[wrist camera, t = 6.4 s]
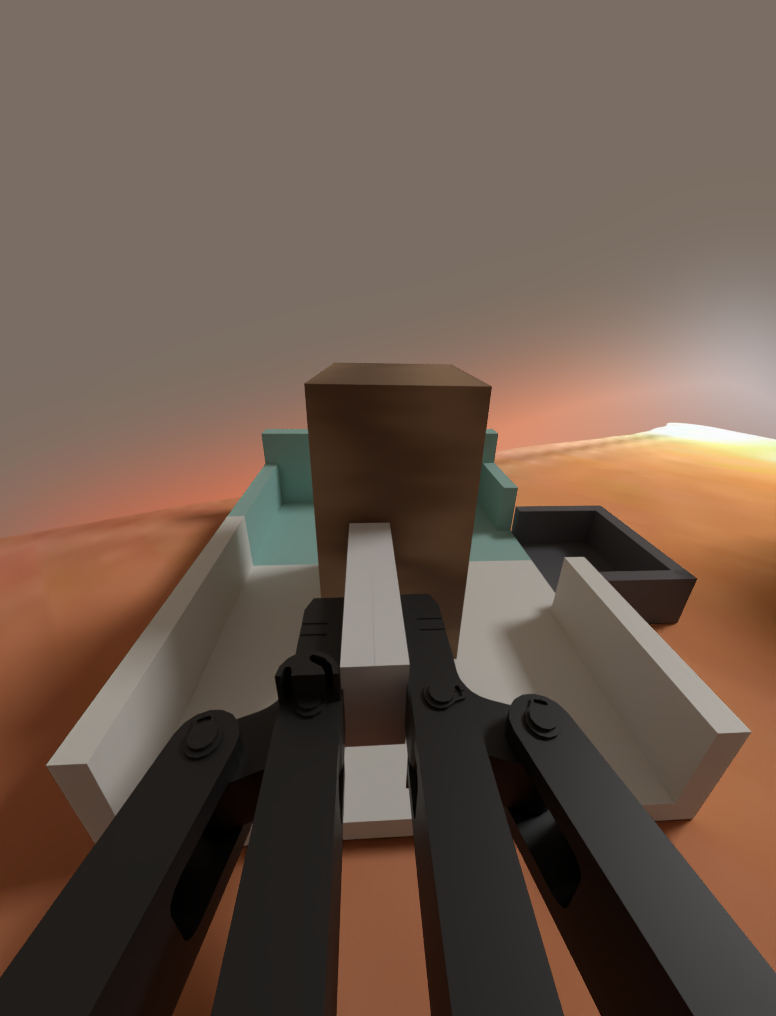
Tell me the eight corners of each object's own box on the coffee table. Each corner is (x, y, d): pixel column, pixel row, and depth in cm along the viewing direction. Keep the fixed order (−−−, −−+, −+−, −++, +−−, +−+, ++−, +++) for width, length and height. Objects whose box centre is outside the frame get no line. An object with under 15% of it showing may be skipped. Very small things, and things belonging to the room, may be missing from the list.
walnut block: (435, 561, 24) (451, 364, 19) (456, 658, 17) (492, 386, 12) (343, 560, 24) (334, 362, 19) (325, 658, 17) (304, 383, 12)
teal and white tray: (482, 503, 35) (492, 429, 32) (693, 818, 13) (794, 668, 10) (275, 505, 34) (266, 429, 31) (101, 854, 11) (3, 698, 8)
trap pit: (590, 540, 29) (600, 505, 28) (677, 622, 21) (697, 578, 20) (509, 541, 29) (515, 506, 27) (566, 626, 21) (578, 581, 19)
